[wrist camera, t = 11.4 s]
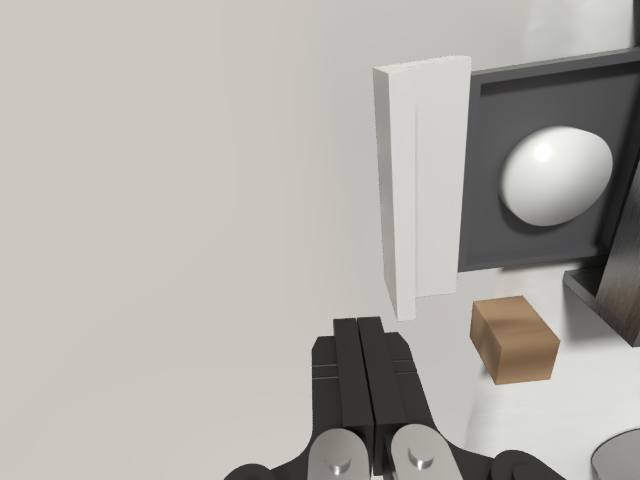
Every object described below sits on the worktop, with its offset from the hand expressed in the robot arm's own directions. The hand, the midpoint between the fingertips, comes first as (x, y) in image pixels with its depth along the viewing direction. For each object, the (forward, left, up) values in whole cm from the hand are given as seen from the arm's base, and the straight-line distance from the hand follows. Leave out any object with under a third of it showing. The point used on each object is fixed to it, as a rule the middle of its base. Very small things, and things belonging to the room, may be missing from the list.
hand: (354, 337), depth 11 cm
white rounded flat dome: (-1, -14, -13) cm, 19 cm away
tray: (-1, -12, -14) cm, 18 cm away
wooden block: (-14, -12, -14) cm, 23 cm away
